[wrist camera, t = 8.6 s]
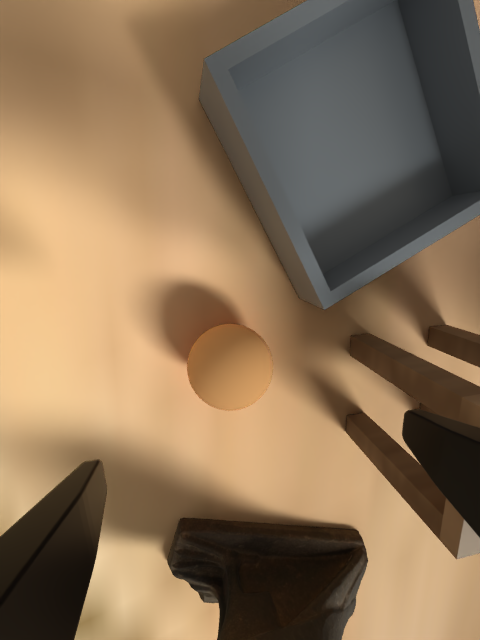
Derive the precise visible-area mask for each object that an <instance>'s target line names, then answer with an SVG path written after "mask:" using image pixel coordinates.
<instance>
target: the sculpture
mask: <svg viewBox="0 0 480 640" xmlns="http://www.w3.org/2000/svg"><path fill="white" fill-rule="evenodd" d="M167 561H168V565H169V567H170V569H171V571H172V574H173V575H174V576H175V577H176V578H179V579H183V580H186V581H187V582H188V583H189V584H190V586H191V588H193V589H194V590H195V591H197V592H198V593H199V595H200V598H201V599H202V600H203V602H206V603H219V608H220V618H219V630H218V638H217V640H341V639H342V635H343V632H344V628H345V626H346V623H347V621H348V619H349V618H350V617H351V615H352V614H353V612H354V609H355V606H356V595H357V591H358V589H359V586H360V582H361V580H362V578H363V575H364V573H365V570H366V567H367V562H368V558H367V552H366V548H365V546H364V542H363V540H362V537H361V536H360V534H359V532H358V531H356V530H350V529H337V528H323V527H310V526H294V525H280V524H267V523H252V522H238V521H224V520H210V519H195V518H182V519H180V521H179V523H178V526H177V529H176V533H175V536H174V540H173V543H172V546H171V550H170V553H169V556H168V560H167Z"/></svg>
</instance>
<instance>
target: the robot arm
mask: <svg viewBox="0 0 480 640" xmlns="http://www.w3.org/2000/svg"><path fill="white" fill-rule="evenodd" d="M402 436H403V439H404V441H405V443H406V444H407V446H408V447H409V449H410V450H411V451H412V453H413V454H414V456H415V457H416V459H417V460H418V461H419V463H420V464H421V466H422V467H423V468H424V470H425V471H426V473H427V474H428V475H429V477H430V478H431V480H432V481H433V482H434V484H435V485H436V486H437V488H438V489H439V490H440V491H441V493H442V494H443V495H444V496H445V497H446V499H447V500H448V501H449V502H450V503H451V504H452V506H453V507H454V508H455V509H456V510H457V512H458V513H459V514H460V515H461V516H462V518H463V519H464V520H465V521H466V522H467V523H468V525H469V526H470V527H471V528H472V529H473V531H474V532H475V533H476V534H477V535H478V537H479V538H480V428H479V427H476V426H473V425H469V424H466V423H463V422H460V421H456V420H453V419H450V418H447V417H444V416H440V415H437V414H434V413H431V412H427V411H424V410H421V409H414V410H408V411H406V412H405V414H404V421H403V430H402ZM106 494H107V485H106V479H105V474H104V469H103V464H102V461H101V460H99V459H98V460H91V461H85V462H83V463H82V464H81V465H80V466H78V467H77V468H76V469H75V470H74V471H73V472H72V473H71V474H70V475H68V476H67V477H66V478H65V479H64V480H63V481H62V482H61V483H60V484H58V485H57V486H56V487H55V488H54V489H53V490H52V491H51V492H49V493H48V494H47V495H46V496H45V497H44V498H43V499H42V500H41V501H39V502H38V503H37V504H36V505H35V506H34V507H33V508H32V509H30V510H29V511H28V512H27V513H26V514H25V515H24V516H23V517H22V518H20V519H19V520H18V521H17V522H16V523H15V524H14V525H13V526H12V527H10V528H9V529H8V530H7V531H6V532H5V533H4V534H3V535H1V536H0V640H74V638H75V635H76V631H77V627H78V624H79V620H80V616H81V612H82V609H83V605H84V601H85V598H86V594H87V590H88V587H89V583H90V579H91V575H92V572H93V568H94V564H95V560H96V555H97V549H98V543H99V537H100V531H101V525H102V519H103V513H104V507H105V501H106Z"/></svg>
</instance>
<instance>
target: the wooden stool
mask: <svg viewBox="0 0 480 640" xmlns="http://www.w3.org/2000/svg"><path fill="white" fill-rule="evenodd" d="M427 346H430V347H432V348H435V349H437V350H439V351H442V352H444V353H446V354H449V355H451V356H454V357H456V358H458V359H461V360H463V361H466V362H468V363H470V364H473V365H475V366H478V367H480V335H478V334H475V333H471V332H468V331H465V330H462V329H458V328H455V327H452V326H449V325H441V326H433V327H430V329H429V337H428V345H427ZM350 356H352V357H353V358H355V359H356V360H358V361H359V362H361V363H362V364H364V365H365V366H367V367H368V368H370V369H371V370H373V371H374V372H376V373H377V374H379V375H380V376H382V377H383V378H385V379H386V380H388V381H389V382H391V383H392V384H394V385H395V386H397V387H398V388H400V389H401V390H403V391H404V392H406V393H407V394H409V395H410V396H412V397H413V398H415V399H416V400H418V401H419V402H421V404H420V409H421V410H424V411H427V412H431V413H434V414H437V415H440V416H444V417H447V418H450V419H453V420H456V421H460V422H463V423H466V424H469V425H473V426H476V427H479V428H480V387H479V386H477V385H475V384H473V383H471V382H469V381H467V380H465V379H463V378H460V377H458V376H456V375H454V374H452V373H450V372H448V371H446V370H444V369H442V368H440V367H438V366H436V365H434V364H432V363H429V362H427V361H425V360H423V359H421V358H419V357H417V356H415V355H413V354H411V353H409V352H407V351H405V350H403V349H401V348H398V347H396V346H394V345H392V344H390V343H388V342H386V341H384V340H382V339H380V338H378V337H376V336H374V335H372V334H362V335H353V336H351V341H350ZM346 433H347V434H348V435H349V436H350V438H351V439H352V440H353V441H354V442H355V443H356V444H357V446H358V447H359V448H360V449H361V450H362V451H363V452H364V454H365V455H366V456H367V457H368V458H369V459H370V461H371V462H372V463H373V464H374V465H375V466H376V467H377V469H378V470H379V471H380V472H381V473H382V474H383V475H384V477H385V478H386V479H387V480H388V481H389V482H390V483H391V485H392V486H393V487H394V488H395V489H396V490H397V491H398V493H399V494H400V495H401V496H402V497H403V498H404V500H405V501H406V502H407V503H408V504H409V505H410V506H411V508H412V509H413V510H414V511H415V512H416V513H417V514H418V516H419V517H420V518H421V519H422V520H423V521H424V522H425V524H426V525H427V526H428V527H429V528H430V529H431V530H432V532H433V533H434V534H435V535H436V536H437V537H438V539H439V540H440V541H441V542H442V543H443V544H444V545H445V547H446V548H447V549H448V550H449V551H450V552H451V553H452V555H453V556H454V557H455V558H456V559H460V558H464V557H467V556H471V555H475V554H479V553H480V538H479V537H478V535H477V534H476V533H475V532H474V531H473V529H472V528H471V527H470V526H469V525H468V523H467V522H466V521H465V520H464V519H463V518H462V516H461V515H460V514H459V513H458V512H457V510H456V509H455V508H454V507H453V506H452V504H451V503H450V502H449V501H448V500H447V499H446V497H445V496H444V495H443V494H442V493H441V491H440V490H439V489H438V488H437V486H436V485H435V484H434V482H433V481H432V480H431V478H430V477H429V475H428V474H427V473H426V471H425V470H424V468H423V467H422V466H421V465H420V464H419V463H418V462H417V461H416V460H415V459H414V458H413V457H412V456H411V455H410V454H408V453H407V452H406V451H405V450H404V449H403V448H402V447H401V446H400V445H399V444H398V443H397V442H396V441H394V440H393V439H392V438H391V437H390V436H389V435H388V434H387V433H386V432H385V431H384V430H383V429H381V428H380V427H379V426H378V425H377V424H376V423H375V422H374V421H373V420H372V419H371V418H370V417H369V416H367V415H366V414H365V413H359V414H353V415H347V421H346Z"/></svg>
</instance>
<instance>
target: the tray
mask: <svg viewBox="0 0 480 640" xmlns="http://www.w3.org/2000/svg"><path fill="white" fill-rule="evenodd" d="M199 101H200V103H201V105H202V106H203V108H204V110H205V112H206V114H207V116H208V118H209V120H210V122H211V124H212V126H213V128H214V130H215V132H216V134H217V136H218V138H219V140H220V142H221V144H222V146H223V148H224V150H225V152H226V154H227V156H228V158H229V160H230V162H231V164H232V166H233V168H234V170H235V172H236V174H237V176H238V178H239V180H240V182H241V184H242V186H243V188H244V190H245V192H246V194H247V196H248V198H249V200H250V202H251V204H252V206H253V208H254V210H255V212H256V214H257V216H258V218H259V220H260V222H261V224H262V226H263V228H264V230H265V232H266V234H267V236H268V238H269V240H270V242H271V243H272V245H273V247H274V249H275V251H276V253H277V255H278V257H279V259H280V261H281V263H282V265H283V267H284V269H285V271H286V273H287V275H288V277H289V279H290V281H291V283H292V285H293V287H294V289H295V291H296V293H297V295H298V297H299V298H300V299H302V300H304V301H306V302H309V303H311V304H313V305H315V306H317V307H319V308H321V309H323V310H325V309H327V308H329V307H330V306H332V305H333V304H335V303H337V302H338V301H340V300H342V299H343V298H345V297H346V296H348V295H350V294H351V293H353V292H355V291H356V290H358V289H360V288H361V287H363V286H364V285H366V284H368V283H369V282H371V281H373V280H374V279H376V278H377V277H379V276H381V275H382V274H384V273H386V272H387V271H389V270H391V269H392V268H394V267H395V266H397V265H399V264H400V263H402V262H404V261H405V260H407V259H408V258H410V257H412V256H413V255H415V254H417V253H418V252H420V251H422V250H423V249H425V248H426V247H428V246H430V245H431V244H433V243H435V242H436V241H438V240H439V239H441V238H443V237H444V236H446V235H448V234H449V233H451V232H453V231H454V230H456V229H457V228H459V227H461V226H462V225H464V224H466V223H467V222H469V221H470V220H472V219H474V218H475V217H477V216H479V215H480V30H479V26H478V21H477V16H476V12H475V7H474V2H473V0H307V1H305V2H303V3H301V4H300V5H298V6H296V7H294V8H293V9H291V10H289V11H287V12H286V13H284V14H282V15H280V16H279V17H277V18H275V19H273V20H272V21H270V22H268V23H266V24H264V25H263V26H261V27H259V28H257V29H256V30H254V31H252V32H250V33H249V34H247V35H245V36H243V37H242V38H240V39H238V40H236V41H235V42H233V43H231V44H229V45H228V46H226V47H224V48H222V49H220V50H219V51H217V52H215V53H213V54H212V55H210V56H208V57H206V58H205V59H204V63H203V70H202V78H201V85H200V93H199Z"/></svg>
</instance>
